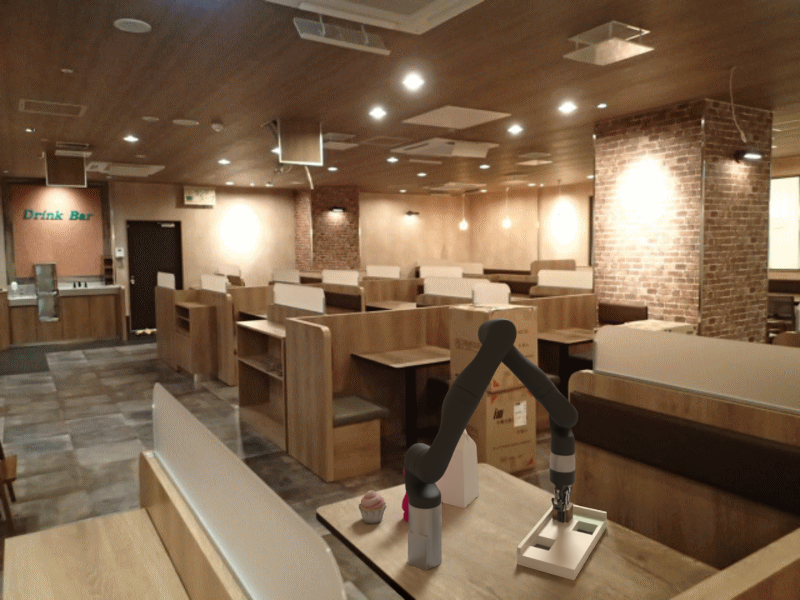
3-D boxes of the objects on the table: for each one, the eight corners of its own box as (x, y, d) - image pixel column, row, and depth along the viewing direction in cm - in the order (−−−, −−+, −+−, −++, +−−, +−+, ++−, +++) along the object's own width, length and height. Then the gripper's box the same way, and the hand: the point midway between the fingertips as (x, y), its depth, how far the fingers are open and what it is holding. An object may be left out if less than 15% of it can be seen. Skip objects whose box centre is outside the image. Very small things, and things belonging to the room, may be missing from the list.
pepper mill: (415, 526, 197) (414, 465, 194) (397, 519, 201) (396, 460, 199) (428, 517, 202) (428, 458, 200) (410, 511, 207) (409, 453, 204)
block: (568, 522, 191) (568, 510, 190) (552, 519, 193) (552, 506, 193) (573, 516, 195) (573, 503, 195) (557, 512, 198) (557, 500, 197)
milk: (479, 495, 218) (479, 423, 215) (464, 508, 209) (464, 432, 206) (448, 488, 225) (448, 418, 222) (433, 500, 215) (432, 427, 212)
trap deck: (574, 580, 165) (574, 562, 165) (517, 564, 174) (517, 547, 173) (606, 527, 194) (606, 512, 193) (555, 515, 202) (556, 500, 202)
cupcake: (391, 523, 199) (390, 493, 198) (363, 528, 196) (362, 498, 194) (381, 510, 208) (380, 482, 206) (354, 516, 204) (353, 486, 203)
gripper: (568, 476, 180) (567, 533, 182) (581, 461, 191) (580, 515, 193) (542, 471, 184) (542, 527, 186) (557, 457, 195) (556, 510, 197)
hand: (561, 521), depth 190 cm, fingers closed
